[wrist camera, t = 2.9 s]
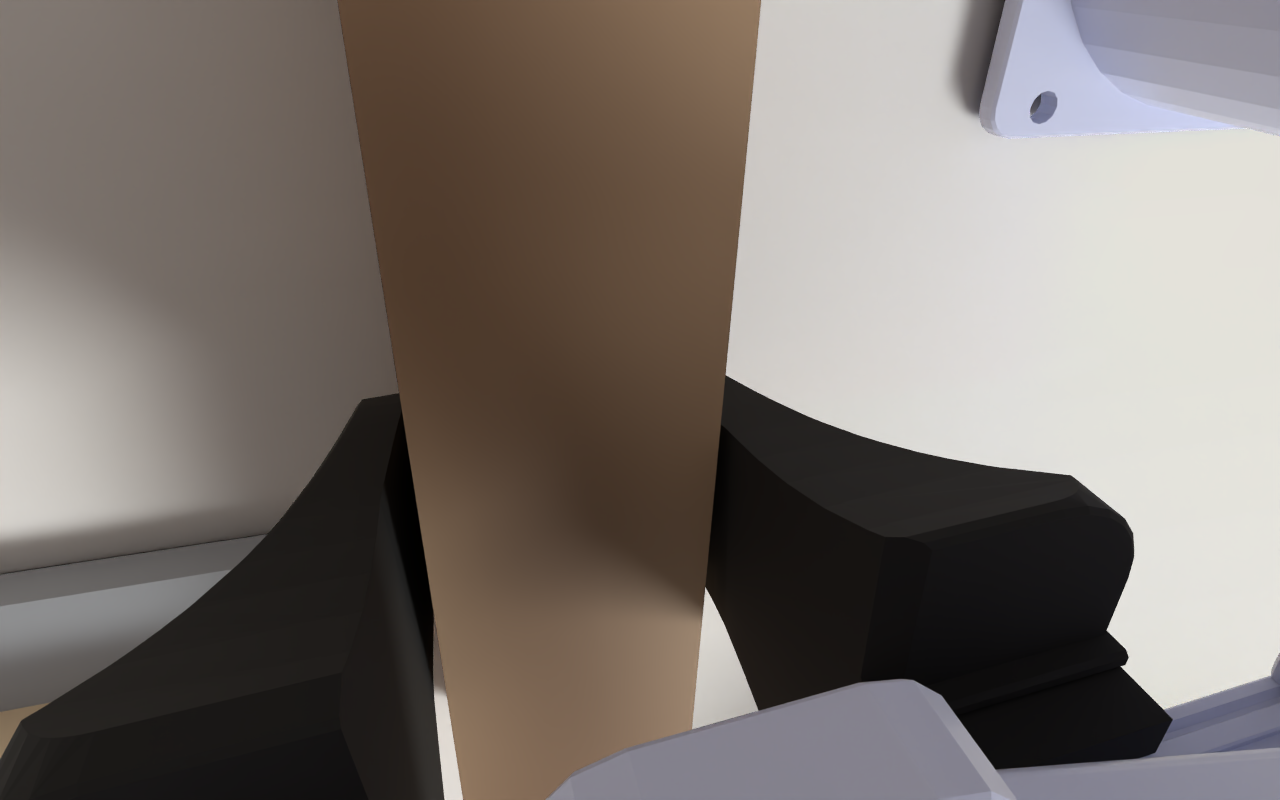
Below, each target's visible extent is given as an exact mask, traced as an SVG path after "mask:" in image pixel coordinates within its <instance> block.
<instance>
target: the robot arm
mask: <svg viewBox="0 0 1280 800" xmlns="http://www.w3.org/2000/svg"><path fill="white" fill-rule="evenodd" d="M1040 94H1041V102H1040V105H1039V107H1038V109H1037V111H1036V112H1035V113H1034V114H1033V115H1032V116H1031V117H1030V108H1031V106H1032V104H1033V101H1034V99H1036V98H1037V97H1038V96H1039V95H1040ZM979 118H980V122H981V125H982V127H983V128H984V129H985V130H986V131H987V132H988V133H991V134H993V135H996V136H999V137H1004V138H1008V139H1010V138H1034V137H1057V136H1080V135H1103V134H1126V133H1149V132H1172V131H1196V130H1219V129H1242V128H1247V129H1251V130H1256V131H1260V132H1264V133H1268V134H1273V135H1277V136H1280V0H1005V4H1004V8H1003V12H1002V16H1001V20H1000V24H999V29H998V33H997V37H996V41H995V45H994V49H993V53H992V58H991V62H990V66H989V70H988V74H987V78H986V82H985V87H984V91H983V95H982V99H981V103H980V112H979ZM1133 559H1134V540H1133V532H1132V531H1131V529H1130V527H1129V525H1128V523H1127V522H1126V520H1125V518H1123V517H1122V516H1121V515H1120V514H1118V513H1117V512H1116V511H1115V510H1113V509H1112V508H1111V507H1110V506H1108V505H1107V504H1106V503H1105V502H1104V501H1102V500H1101V499H1100V498H1099V497H1097V496H1096V495H1095V494H1094V493H1092V492H1091V491H1090V490H1089V489H1087V488H1086V487H1085V486H1084V485H1082V484H1081V483H1080V482H1079V481H1077V480H1076V479H1075V478H1074V477H1072V476H1071V475H1062V474H1053V473H1044V472H1035V471H1026V470H1017V469H1008V468H999V467H992V466H986V465H980V464H975V463H969V462H964V461H958V460H952V459H947V458H942V457H938V456H933V455H929V454H924V453H920V452H915V451H912V450H908V449H904V448H900V447H897V446H893V445H889V444H885V443H882V442H878V441H875V440H872V439H868V438H865V437H862V436H859V435H856V434H853V433H850V432H848V431H845V430H842V429H839V428H837V427H834V426H831V425H828V424H825V423H823V422H820V421H818V420H815V419H813V418H810V417H808V416H806V415H803V414H801V413H799V412H797V411H795V410H792V409H790V408H788V407H786V406H784V405H782V404H779V403H777V402H775V401H773V400H771V399H769V398H767V397H765V396H763V395H761V394H759V393H757V392H755V391H753V390H752V389H750V388H748V387H746V386H744V385H742V384H740V383H739V382H737V381H735V380H733V379H731V378H729V377H728V376H726V375H725V384H724V395H723V405H722V416H721V426H720V437H719V448H718V458H717V469H716V479H715V490H714V500H713V511H712V521H711V532H710V542H709V553H708V563H707V574H706V584H705V587H706V589H707V591H708V592H709V594H710V596H711V598H712V600H713V602H714V604H715V606H716V608H717V610H718V612H719V614H720V616H721V618H722V620H723V622H724V624H725V627H726V629H727V632H728V634H729V637H730V639H731V642H732V644H733V647H734V649H735V651H736V654H737V656H738V659H739V661H740V664H741V666H742V669H743V671H744V674H745V676H746V679H747V682H748V684H749V687H750V689H751V692H752V695H753V697H754V700H755V702H756V705H757V708H758V710H759V711H756V712H753V713H749V714H746V715H742V716H739V717H735V718H732V719H728V720H724V721H721V722H717V723H714V724H710V725H707V726H703V727H700V728H696V729H692V730H689V731H685V732H682V733H678V734H675V735H671V736H668V737H664V738H660V739H657V740H653V741H650V742H646V743H643V744H639V745H636V746H632V747H628V748H625V749H623V750H621V751H618V752H616V753H614V754H612V755H610V756H608V757H605V758H603V759H601V760H599V761H597V762H594V763H592V764H590V765H588V766H586V767H583V768H581V769H579V770H577V771H575V772H573V773H572V774H571V775H570V776H569V777H568V778H567V779H566V780H565V781H564V782H563V783H562V784H561V785H560V786H559V787H558V788H557V789H556V790H555V791H554V792H553V793H552V794H551V795H550V796H549V797H548V798H546V799H545V800H1280V653H1279V655H1278V657H1277V658H1276V661H1275V663H1274V665H1273V667H1272V671H1271V676H1268V677H1265V678H1262V679H1259V680H1256V681H1252V682H1249V683H1246V684H1243V685H1240V686H1237V687H1234V688H1231V689H1227V690H1224V691H1221V692H1218V693H1215V694H1212V695H1209V696H1206V697H1202V698H1199V699H1196V700H1193V701H1190V702H1187V703H1184V704H1181V705H1177V706H1174V707H1171V708H1168V709H1165V710H1163V709H1162V708H1161V707H1160V706H1159V705H1158V704H1157V703H1156V702H1155V701H1154V700H1153V699H1152V698H1151V697H1150V696H1149V695H1148V694H1147V693H1146V692H1145V691H1144V690H1143V689H1142V688H1141V687H1140V686H1139V685H1138V684H1137V683H1136V682H1135V681H1134V680H1133V679H1132V678H1131V677H1130V676H1129V675H1128V674H1127V673H1126V672H1125V671H1124V670H1123V669H1122V668H1121V667H1120V666H1123V665H1125V664H1126V662H1127V660H1128V658H1129V657H1128V654H1127V651H1126V649H1125V648H1124V647H1123V646H1122V645H1121V644H1120V643H1119V642H1118V641H1117V640H1116V639H1115V638H1113V637H1112V636H1111V635H1110V634H1109V633H1108V632H1107V631H1106V630H1107V628H1108V625H1109V623H1110V620H1111V618H1112V616H1113V613H1114V611H1115V608H1116V606H1117V604H1118V601H1119V599H1120V596H1121V594H1122V592H1123V589H1124V587H1125V584H1126V582H1127V580H1128V577H1129V573H1130V570H1131V566H1132V562H1133ZM433 623H434V611H433V604H432V598H431V592H430V585H429V579H428V572H427V566H426V560H425V553H424V547H423V541H422V534H421V528H420V522H419V515H418V509H417V503H416V496H415V490H414V484H413V477H412V471H411V465H410V458H409V452H408V445H407V439H406V433H405V426H404V420H403V414H402V407H401V401H400V395H399V394H393V395H387V396H381V397H375V398H369V399H363V400H362V401H361V402H360V403H359V405H358V406H357V407H356V409H355V410H354V412H353V414H352V416H351V417H350V419H349V421H348V423H347V424H346V426H345V428H344V430H343V431H342V433H341V435H340V436H339V438H338V440H337V441H336V443H335V444H334V446H333V448H332V449H331V451H330V452H329V454H328V455H327V457H326V458H325V460H324V461H323V463H322V464H321V466H320V467H319V469H318V470H317V472H316V473H315V475H314V476H313V478H312V479H311V481H310V482H309V483H308V485H307V486H306V487H305V489H304V490H303V491H302V493H301V494H300V495H299V496H298V498H297V499H296V500H295V502H294V503H293V504H292V506H291V507H290V508H289V509H288V511H287V512H286V513H285V515H284V516H283V517H282V518H281V520H280V521H279V522H278V523H277V524H276V525H275V527H274V528H273V529H272V530H271V531H270V532H269V533H268V534H267V535H266V536H265V537H264V539H263V540H262V541H261V542H260V543H259V544H258V545H257V546H256V547H255V548H254V549H253V550H252V551H251V552H250V553H249V554H248V555H247V556H246V557H245V558H244V559H243V560H242V561H241V562H240V563H239V564H238V565H237V566H236V567H234V568H233V569H232V570H231V571H230V572H229V573H228V574H226V575H225V576H224V577H223V578H222V579H221V580H220V581H218V582H217V583H216V584H215V585H214V586H213V587H212V588H210V589H209V590H208V591H207V592H206V593H205V594H204V595H203V596H201V597H200V598H199V599H198V600H197V601H196V602H195V603H193V604H192V605H191V606H190V607H189V608H187V609H186V610H185V611H184V612H182V613H181V614H180V615H178V616H177V617H176V618H175V619H173V620H172V621H171V622H169V623H168V624H167V625H165V626H164V627H163V628H162V629H160V630H159V631H158V632H156V633H155V634H153V635H152V636H151V637H149V638H148V639H147V640H145V641H144V642H142V643H141V644H140V645H138V646H137V647H135V648H134V649H133V650H131V651H130V652H128V653H127V654H126V655H124V656H123V657H121V658H120V659H118V660H117V661H115V662H114V663H112V664H111V665H109V666H108V667H106V668H105V669H103V670H102V671H100V672H99V673H97V674H95V675H94V676H92V677H91V678H89V679H87V680H86V681H84V682H83V683H81V684H79V685H78V686H76V687H75V688H73V689H71V690H70V691H68V692H67V693H65V694H64V695H62V696H60V697H59V698H57V699H56V700H54V701H52V702H51V703H49V704H48V705H46V706H44V707H43V708H41V709H39V710H38V711H36V712H34V713H33V714H31V715H29V716H28V717H26V718H24V719H22V720H21V721H20V723H19V725H18V727H17V729H16V731H15V732H14V734H13V736H12V738H11V740H10V742H9V744H8V745H7V747H6V749H5V751H4V753H3V755H2V756H1V758H0V800H444V792H443V782H442V773H441V764H440V754H439V744H438V734H437V723H436V713H435V703H434V684H433Z"/></svg>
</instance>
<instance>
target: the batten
mask: <svg viewBox="0 0 1280 800" xmlns="http://www.w3.org/2000/svg"><path fill="white" fill-rule="evenodd" d="M337 1H338V7H339V14H340V20H341V26H342V33H343V39H344V46H345V52H346V58H347V65H348V71H349V77H350V84H351V90H352V96H353V103H354V109H355V115H356V122H357V128H358V134H359V141H360V147H361V153H362V160H363V166H364V173H365V179H366V185H367V192H368V198H369V204H370V211H371V217H372V223H373V230H374V236H375V242H376V249H377V255H378V261H379V268H380V274H381V280H382V287H383V293H384V299H385V306H386V312H387V319H388V325H389V331H390V338H391V344H392V350H393V357H394V363H395V369H396V376H397V382H398V388H399V395H400V401H401V407H402V414H403V420H404V426H405V433H406V439H407V445H408V452H409V458H410V465H411V471H412V477H413V484H414V490H415V496H416V503H417V509H418V515H419V522H420V528H421V534H422V541H423V547H424V553H425V560H426V566H427V572H428V579H429V585H430V592H431V598H432V604H433V611H434V617H435V623H436V630H437V636H438V642H439V649H440V655H441V661H442V668H443V674H444V680H445V687H446V693H447V699H448V706H449V712H450V718H451V725H452V731H453V738H454V744H455V750H456V757H457V763H458V769H459V776H460V782H461V788H462V795H463V800H545V799H546V798H548V797H549V796H550V795H551V794H552V793H553V792H554V791H555V790H556V789H557V788H558V787H559V786H560V785H561V784H562V783H563V782H564V781H565V780H566V779H567V778H568V777H569V776H570V775H571V774H572V773H573V772H575V771H577V770H579V769H581V768H583V767H586V766H588V765H590V764H592V763H594V762H597V761H599V760H601V759H603V758H605V757H608V756H610V755H612V754H614V753H616V752H618V751H621V750H623V749H625V748H628V747H632V746H636V745H639V744H643V743H646V742H650V741H653V740H657V739H660V738H664V737H668V736H671V735H675V734H678V733H682V732H685V731H689V730H692V721H693V710H694V700H695V689H696V679H697V668H698V658H699V647H700V637H701V626H702V616H703V605H704V595H705V584H706V574H707V563H708V553H709V542H710V532H711V521H712V511H713V500H714V490H715V479H716V469H717V458H718V448H719V437H720V426H721V416H722V405H723V395H724V384H725V374H726V363H727V353H728V342H729V332H730V321H731V311H732V300H733V290H734V279H735V269H736V258H737V248H738V237H739V227H740V216H741V206H742V195H743V185H744V174H745V164H746V153H747V143H748V132H749V122H750V111H751V101H752V90H753V80H754V69H755V59H756V48H757V38H758V27H759V16H760V6H761V0H337Z"/></svg>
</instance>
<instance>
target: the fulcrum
mask: <svg viewBox="0 0 1280 800" xmlns="http://www.w3.org/2000/svg"><path fill="white" fill-rule="evenodd" d="M266 535H267V534H265V535H259V536H252V537H246V538H239V539H232V540H226V541H219V542H212V543H206V544H199V545H193V546H186V547H179V548H173V549H166V550H160V551H153V552H146V553H140V554H133V555H126V556H120V557H113V558H107V559H100V560H93V561H87V562H80V563H73V564H67V565H60V566H54V567H47V568H40V569H34V570H27V571H21V572H14V573H7V574H1V575H0V758H1V756H2V755H3V753H4V751H5V749H6V747H7V745H8V744H9V742H10V740H11V738H12V736H13V734H14V732H15V731H16V729H17V727H18V725H19V723H20V721H21V720H22V719H24V718H26V717H28V716H29V715H31V714H33V713H34V712H36V711H38V710H39V709H41V708H43V707H44V706H46V705H48V704H49V703H51V702H52V701H54V700H56V699H57V698H59V697H60V696H62V695H64V694H65V693H67V692H68V691H70V690H71V689H73V688H75V687H76V686H78V685H79V684H81V683H83V682H84V681H86V680H87V679H89V678H91V677H92V676H94V675H95V674H97V673H99V672H100V671H102V670H103V669H105V668H106V667H108V666H109V665H111V664H112V663H114V662H115V661H117V660H118V659H120V658H121V657H123V656H124V655H126V654H127V653H128V652H130V651H131V650H133V649H134V648H135V647H137V646H138V645H140V644H141V643H142V642H144V641H145V640H147V639H148V638H149V637H151V636H152V635H153V634H155V633H156V632H158V631H159V630H160V629H162V628H163V627H164V626H165V625H167V624H168V623H169V622H171V621H172V620H173V619H175V618H176V617H177V616H178V615H180V614H181V613H182V612H184V611H185V610H186V609H187V608H189V607H190V606H191V605H192V604H193V603H195V602H196V601H197V600H198V599H199V598H200V597H201V596H203V595H204V594H205V593H206V592H207V591H208V590H209V589H210V588H212V587H213V586H214V585H215V584H216V583H217V582H218V581H220V580H221V579H222V578H223V577H224V576H225V575H226V574H228V573H229V572H230V571H231V570H232V569H233V568H234V567H236V566H237V565H238V564H239V563H240V562H241V561H242V560H243V559H244V558H245V557H246V556H247V555H248V554H249V553H250V552H251V551H252V550H253V549H254V548H255V547H256V546H257V545H258V544H259V543H260V542H261V541H262V540H263V539H264V537H265V536H266Z"/></svg>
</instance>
